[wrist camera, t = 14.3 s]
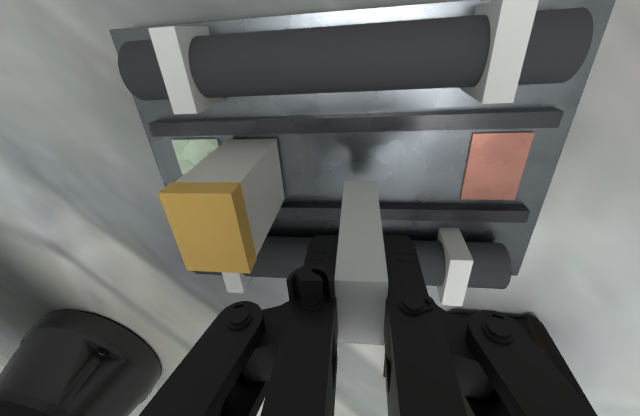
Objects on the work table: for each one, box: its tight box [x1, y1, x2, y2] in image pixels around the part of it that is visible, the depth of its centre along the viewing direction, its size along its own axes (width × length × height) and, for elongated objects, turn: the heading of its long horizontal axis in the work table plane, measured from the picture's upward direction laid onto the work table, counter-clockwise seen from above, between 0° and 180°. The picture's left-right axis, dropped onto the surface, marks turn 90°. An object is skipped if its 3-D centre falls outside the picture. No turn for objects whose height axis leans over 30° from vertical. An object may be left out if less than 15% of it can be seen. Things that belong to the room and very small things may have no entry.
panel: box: [109, 0, 615, 275], centre depth 19 cm, size 24×16×3 cm, turn 94°
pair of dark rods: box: [118, 0, 594, 306], centre depth 17 cm, size 20×16×3 cm
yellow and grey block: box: [158, 138, 285, 274], centre depth 16 cm, size 3×4×7 cm
